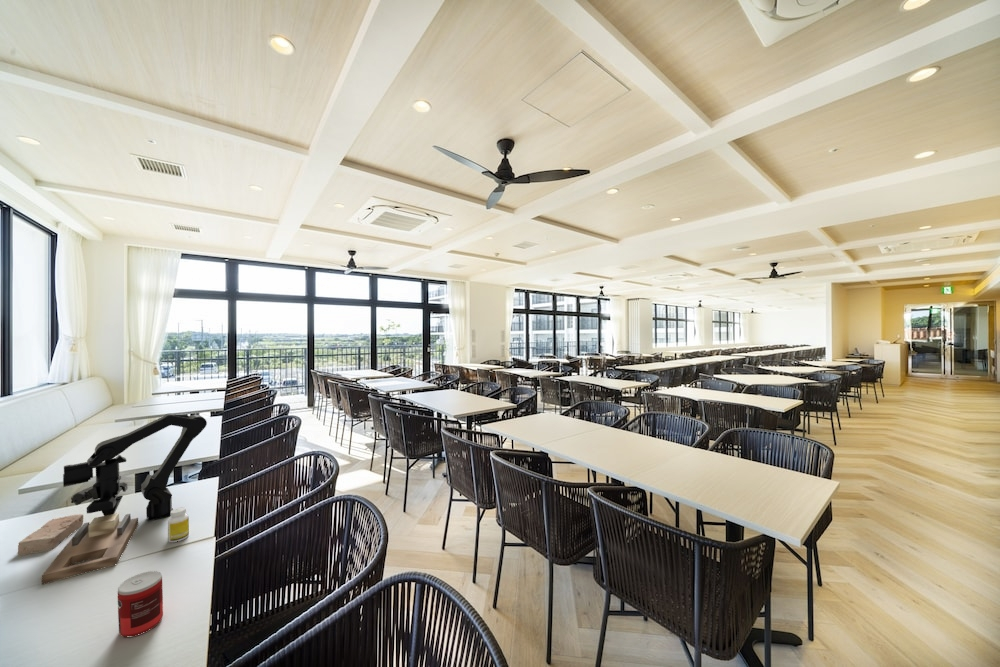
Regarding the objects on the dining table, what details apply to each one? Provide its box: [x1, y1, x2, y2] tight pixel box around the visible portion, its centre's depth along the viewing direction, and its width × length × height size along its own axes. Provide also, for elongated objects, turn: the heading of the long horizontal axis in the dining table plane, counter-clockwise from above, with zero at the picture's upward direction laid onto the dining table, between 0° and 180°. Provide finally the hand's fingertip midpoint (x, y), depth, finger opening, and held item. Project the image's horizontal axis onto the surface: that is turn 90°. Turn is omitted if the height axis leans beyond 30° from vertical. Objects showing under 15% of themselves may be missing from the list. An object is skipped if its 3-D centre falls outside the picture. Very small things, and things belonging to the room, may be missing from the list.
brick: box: [17, 513, 84, 556], centre depth 126 cm, size 17×8×5 cm, turn 23°
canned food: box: [117, 570, 164, 638], centre depth 90 cm, size 8×8×11 cm
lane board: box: [41, 513, 139, 585], centre depth 120 cm, size 15×28×5 cm, turn 34°
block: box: [88, 512, 120, 537], centre depth 127 cm, size 6×6×4 cm
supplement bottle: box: [167, 507, 190, 543], centre depth 127 cm, size 5×5×10 cm
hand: (109, 520), depth 132 cm, fingers closed
